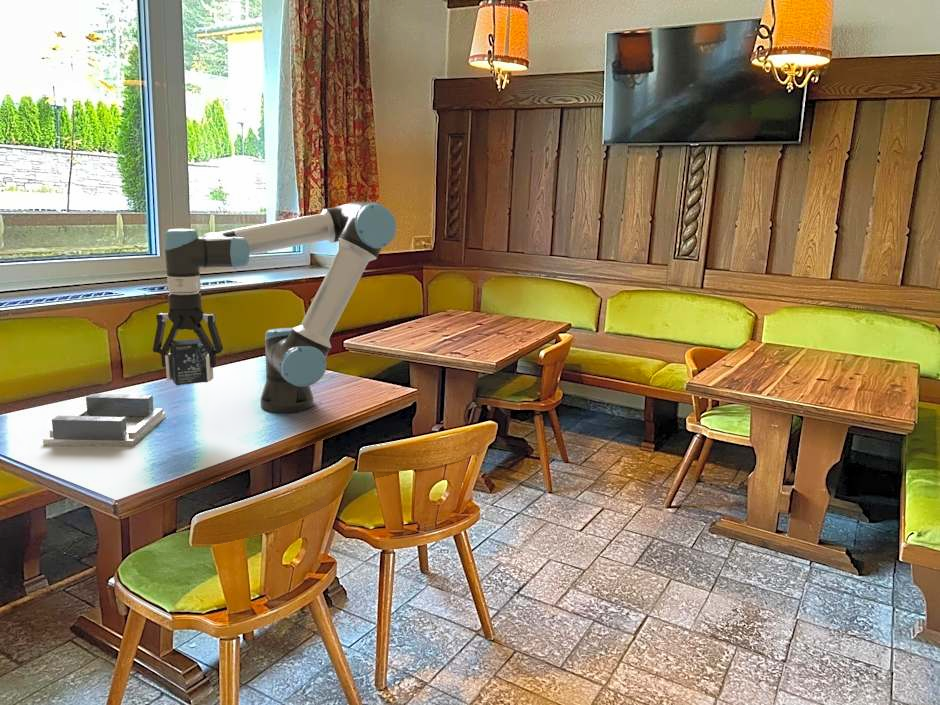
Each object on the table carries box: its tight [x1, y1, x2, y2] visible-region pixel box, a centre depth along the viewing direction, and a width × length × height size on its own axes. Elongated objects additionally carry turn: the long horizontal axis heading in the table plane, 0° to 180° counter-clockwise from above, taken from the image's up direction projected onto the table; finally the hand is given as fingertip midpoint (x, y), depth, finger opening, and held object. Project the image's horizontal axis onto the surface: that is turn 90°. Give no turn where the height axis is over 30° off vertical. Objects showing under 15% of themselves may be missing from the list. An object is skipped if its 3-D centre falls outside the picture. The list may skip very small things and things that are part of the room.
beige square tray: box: [42, 406, 166, 447], centre depth 180 cm, size 21×22×6 cm
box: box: [169, 337, 209, 386], centre depth 178 cm, size 8×6×11 cm
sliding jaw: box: [85, 393, 155, 416], centre depth 187 cm, size 16×3×5 cm, turn 94°
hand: (190, 379), depth 179 cm, fingers closed on box, 9 cm apart
